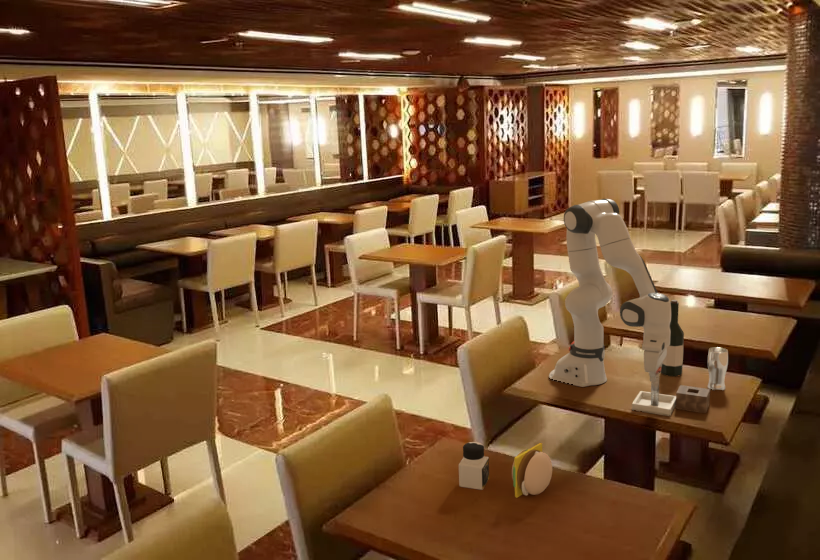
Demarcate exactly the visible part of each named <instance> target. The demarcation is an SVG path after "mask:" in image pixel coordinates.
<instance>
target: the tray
mask: <svg viewBox="0 0 820 560" xmlns="http://www.w3.org/2000/svg"><path fill="white" fill-rule="evenodd" d="M674 409H676V395H670V394H663V393H659V405H658V406H652V405H651V391H643V390H640V391H639V392H638V394H637V395H636V396H635V398H634V400H633V401H632V403H631V411H634V410H636V411H635V412H640V411H642V412H641V413H648V414H654V415H659V416H666V417H671V416H672V413H673V411H674Z"/></svg>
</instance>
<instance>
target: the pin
mask: <svg viewBox="0 0 820 560" xmlns="http://www.w3.org/2000/svg"><path fill="white" fill-rule="evenodd" d="M659 372H660V373H661V367H659V368H658V370H657V371H656V373H655V376H656V380H655V382H651V381H650V385H651V386H650V387H651V389H650V392H651V405H652V406H658V405H659V394H660V373H659Z"/></svg>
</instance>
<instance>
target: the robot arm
mask: <svg viewBox="0 0 820 560" xmlns="http://www.w3.org/2000/svg"><path fill="white" fill-rule="evenodd" d="M563 224H564V226H565V227H566V237H565V238H566V248H567V255H568V256H567V257H568V263H569V270H570V271H571V273H572V274H573V275H575V277H576V279H577V282H578V285H579V286H578V287H575V288H573V289H572V290H571V291H570V292H569V293H568V294H567V295H566V296H565V300H564V305H565V309H566V310H567V312H569V314H570V315H571V318H572V322H573V326H574V327H573V330H574V334H573V335H574V336H573V337H574V340H573V341H572V342H571V343H570V345H569V347H568V351H569V352H568V353H566V354H565V355H563V356H562V357H561V358H559V359H558V360H557V361H556V364H555V366H554V369H553V370H551V371H550V372H549V374H548V379H549V378H550V379H553V380H552V381H554V380H557V381H556V382H558V381H561V382H560V383H563V382H565V383H564V384H567V383H569V384H568V385H571V384H573V385H572V386H576V387H582V388H584V387H589V386H597V385H602V384H604V383H606V382H607V380H608V377H607V374H606V370H605V364H604V363H605V362H604V360H605V355H606V354H605V345H604V325H603V324H602V323H601V321H600V318H599V309H601V308H603V307H605V306H607V304H608V303H609V302H610V300H611V299H612V298H613V296H614V295H613V288H612V286H611V284H609V282H607V281H606V279H605V277H604V274H603V272H602V268H601V264H600V261H599V254H598V248H597V242H596V237H597V240H598V244H599V247H600V252H601V255H602V257H603V259H604V260H605V262H606V264H608V265H609V266H611V267H613V268H616V269H620V270H623V271H625V272H626V273H628V274H629V275H630V277H631V278H632V279H633V280H632V281H633V282H634V284H635V288H636V289H637V291H638V293H639V297H637V298H632V299H629V300H627V301H625V302H623V303H622V304H621V306H620V308H619V316H620V319H621V321H622V323H624V324H625V325H626V326H628V327H634V328H636V327H637V328H643V341H642V344H641V345H642V346H641V349H642V351H643V369H644V372H645V373H648V376H649V381H650V383H651V382H655V380H656V376H655V373H656V371H657V370H658V368H659V367H662V363H663V360H664V359H665V357H666V355H667V347H668V346H669V345H670V332H671V331H670V322H671V303H670V302H671V300H670V298H669V296H667V295H665V294H663V293H660V292H659V291H658V289H657V288H656V285H655V283H654V281H653V279H652V276H651V274H650V271H649V269H648V267H647V264H646V262H645V261H644V259H643V258H642V256H641V255H640V254H639V253H638V252H637V250H636V248H635V246H634V243H633V241H632V238H631V235H630V232H629V229H628V227H627V225H626V222H625V221H624V219H623V217H622V215H620V208H619V206H618V204H617V202H616V201H615V200H613V199H610V198H601V199H595V200H594V199H593V200H588V201H586V202H583V203H578V204H574V205H572V206H570V207H568V208H567V209H566V210H565V211H564V214H563ZM660 373H661V372H659V374H660ZM550 379H549V380H550Z"/></svg>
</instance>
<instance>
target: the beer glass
mask: <svg viewBox="0 0 820 560" xmlns="http://www.w3.org/2000/svg"><path fill="white" fill-rule="evenodd" d="M728 365H729V351H728V349H726V348H723V347H718V346H717V347H710V348H709V349H708V355H707V368H708V384H707V389H710V390H711V389H712V391H715V390H722V391H725V390H726V385H725V379H726V378H725V377H726V374H727V370H728Z"/></svg>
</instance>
